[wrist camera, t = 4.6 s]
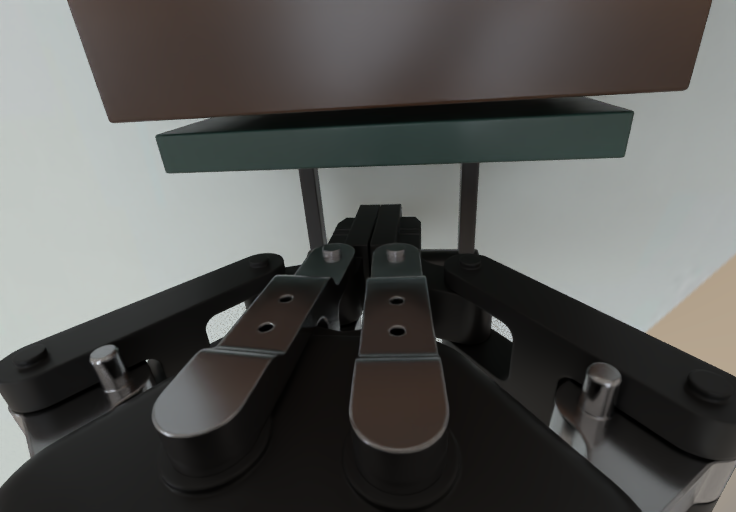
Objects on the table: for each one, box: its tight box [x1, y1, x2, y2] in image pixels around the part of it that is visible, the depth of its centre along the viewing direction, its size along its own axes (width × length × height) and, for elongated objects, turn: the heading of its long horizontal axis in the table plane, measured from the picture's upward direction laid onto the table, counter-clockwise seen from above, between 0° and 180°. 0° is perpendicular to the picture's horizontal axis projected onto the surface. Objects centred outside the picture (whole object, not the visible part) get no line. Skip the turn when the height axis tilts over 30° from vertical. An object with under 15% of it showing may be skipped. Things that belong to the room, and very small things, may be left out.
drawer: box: [155, 96, 634, 266], centre depth 13 cm, size 19×13×8 cm
